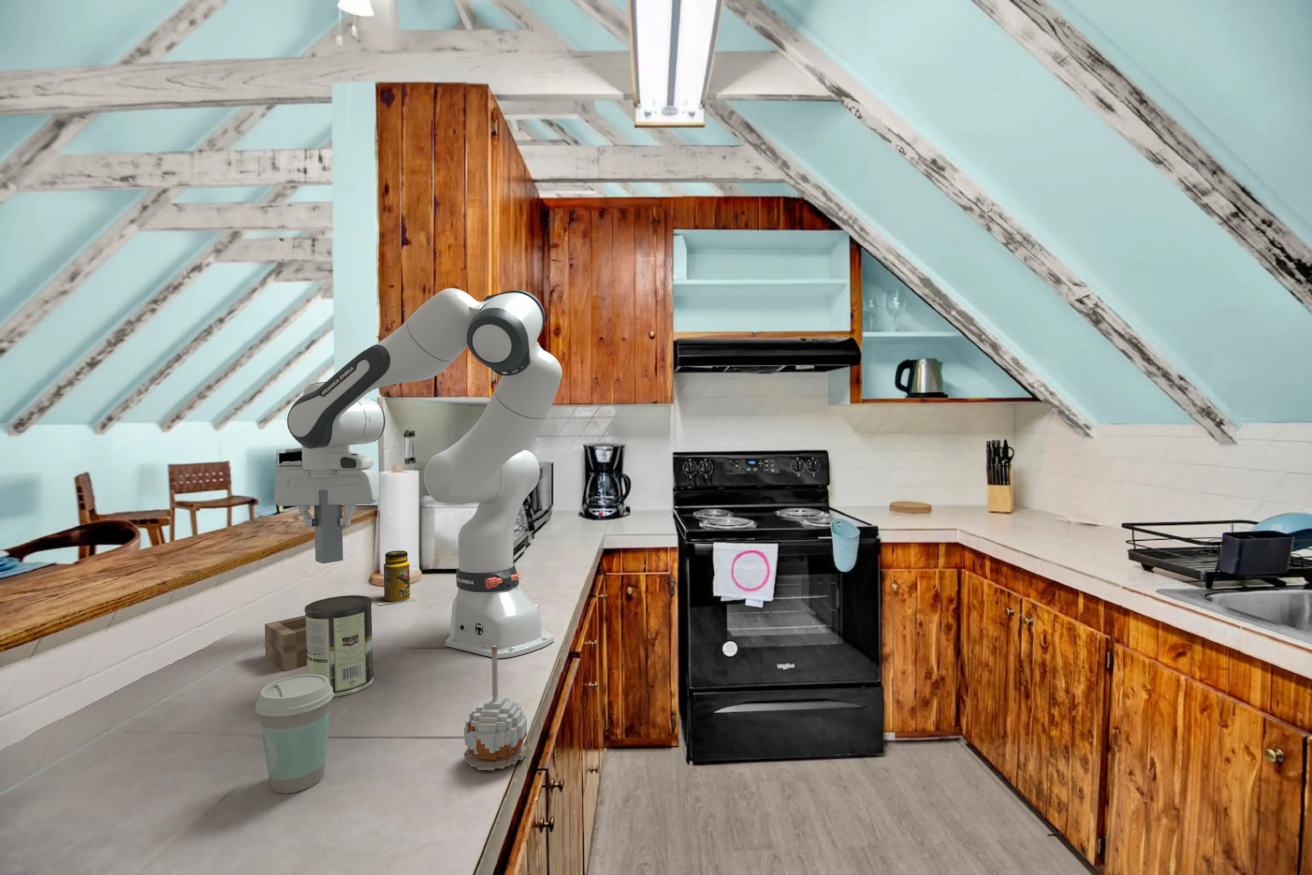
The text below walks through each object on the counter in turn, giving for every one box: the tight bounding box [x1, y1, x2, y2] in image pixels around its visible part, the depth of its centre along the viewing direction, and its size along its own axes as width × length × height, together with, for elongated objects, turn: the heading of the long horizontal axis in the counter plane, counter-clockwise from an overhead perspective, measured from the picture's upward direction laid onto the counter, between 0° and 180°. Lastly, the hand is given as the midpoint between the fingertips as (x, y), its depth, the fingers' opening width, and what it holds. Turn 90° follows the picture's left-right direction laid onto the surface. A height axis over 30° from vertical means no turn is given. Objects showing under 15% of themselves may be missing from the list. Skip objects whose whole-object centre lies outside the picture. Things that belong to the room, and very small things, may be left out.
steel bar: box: [313, 490, 344, 565], centre depth 135 cm, size 4×4×15 cm
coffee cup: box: [254, 673, 334, 795], centre depth 81 cm, size 9×9×12 cm
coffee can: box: [304, 594, 375, 698], centre depth 110 cm, size 10×10×14 cm
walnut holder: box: [264, 614, 307, 672], centre depth 123 cm, size 10×10×6 cm
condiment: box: [372, 550, 415, 606], centre depth 162 cm, size 7×8×12 cm
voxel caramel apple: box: [463, 646, 528, 771], centre depth 86 cm, size 8×8×15 cm
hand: (328, 526), depth 135 cm, fingers closed on steel bar, 6 cm apart
